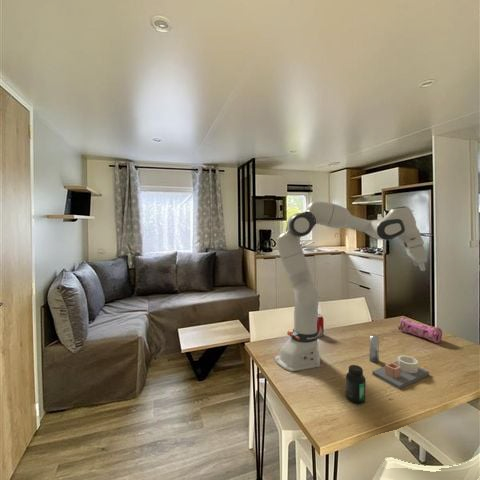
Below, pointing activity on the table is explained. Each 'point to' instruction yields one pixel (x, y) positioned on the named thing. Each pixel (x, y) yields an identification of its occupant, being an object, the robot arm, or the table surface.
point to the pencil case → (421, 330)
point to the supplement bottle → (355, 385)
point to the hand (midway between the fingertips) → (420, 267)
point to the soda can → (320, 325)
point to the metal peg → (374, 348)
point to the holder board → (401, 372)
